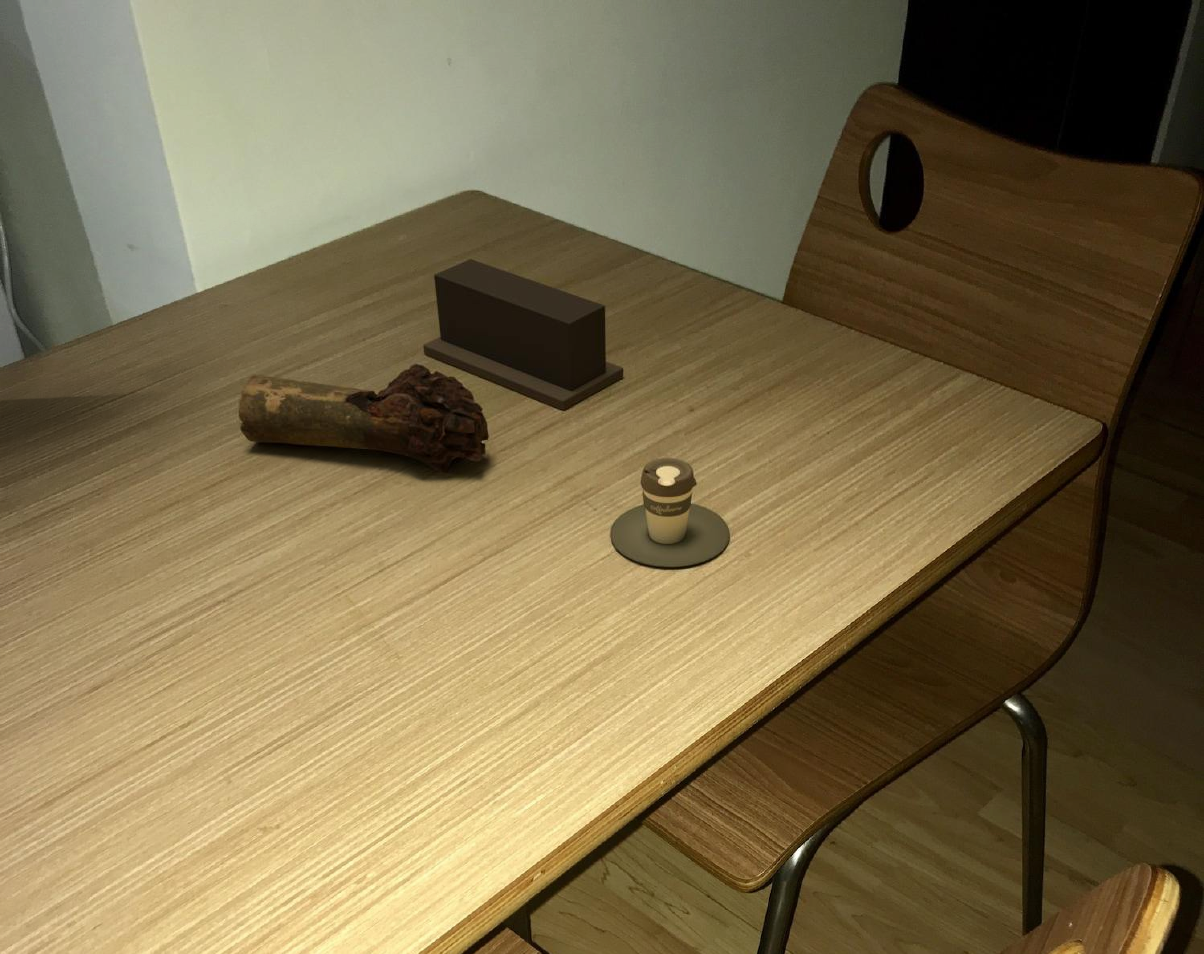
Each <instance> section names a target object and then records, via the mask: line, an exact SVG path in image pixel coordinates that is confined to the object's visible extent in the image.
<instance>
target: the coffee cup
mask: <svg viewBox="0 0 1204 954" xmlns="http://www.w3.org/2000/svg"><path fill="white" fill-rule="evenodd" d="M697 484H698V483H697V479H696V478H695V476H694V469H693V467H692V466H691V465H690V463H688V462H687V461H684V460H682V459H679V458H675V457H663V458H657V459H653V460H651V461H649V462H647V463H646V464H645V465H644V466H643V469H642V472H641V478H640V486H641V488H642V502H643V504H640V505H637V506H634V507H632V508H630V509H628V510H626V511H624V512H623V513H622V514H620V515H619V516H618V517H617V518H615V520H614V522H613V523H612V525H611V527H610V532H609V536H610V541H611V543H612V545H613V547H614V549H615V550H616V551H617V552H618V553H619V554H620V555H621V556H622V557H624V558H626V559H628V560H630V561H632V562H635V563H637V564H641V565H643V566H649V567H656V568H662V569H667V568H668V569H673V568H676V569H677V568H687V567H688V568H689V567H693V566H697V565H701V564H703V563H706V562H708V561H710V560H713V559H714V558H716V557H717V556H719V555H720V554H721V553H722V552H723V551H724V550H725V548H726V547H727V546H728V544H729V541H730V537H731V536H730V533H731V532H730V529H729V526H728V523H727V522H726V520H725V519H724V518H722V516H720V515H719V514H718V513H717V512H715V511H713V510H711V509H710V508H708V507H705V506H702V505H700V504H696V503H692V497H693V488H694V487H696V486H697Z"/></svg>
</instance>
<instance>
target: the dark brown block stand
mask: <svg viewBox="0 0 1204 954" xmlns="http://www.w3.org/2000/svg"><path fill="white" fill-rule="evenodd" d="M433 277H434V287H435V297H436V308H437V316H438V325H439V334H440V335H439V337H437V338H434V339H432V340H431V341H428V342H426V343H424V344H423V345H422V346H423V347H422V348H423V354H424V355H425V356H429V357H431V358H433V359H436V360H439V361H440V362H443V363H445V364H448V365H450V366H453V367H455V368H458V369H460V370H463V371H465V372H468V373H470V374H473V375H475V376H478V377H480V378H483V379H485V380H487V381H490V382H493V383H494V384H497V385H500V386H502V387H504V388H507V389H509V390H512V391H515V392H517V393H519V394H522V395H524V396H527V397H529V398H532V399H534V400H537V401H539V402H541V403H544V404H546V405H549V406H552V407H554V408H556V409H559V410H562V411H565V410H567V409H569V408H571V407H573V406H574V405H576V404H578V403H580V402H581V401H583V400H584V399H587V398H588V397H591V396H593V395H594V394H596V393H597V392H599V391H601V390H603V389H605V388H606V387H608V386H610V385H611V384H613V383H615V382H617V381H619V380H620V379H623V378H624V367H622V366H619V365H617V364H613V363H611V362H609V361H607V353H606V352H607V351H606V350H607V348H606V347H607V345H606V342H607V341H606V340H607V339H606V305H604V304H601V303H598V302H597V301H596V302H595V301H592V300H590V299H587V298H584V297H582V296H578V295H575V294H572V293H570V292H567V291H564V290H561V289H558V288H555V287H553V286H550V285H546V284H544V283H541V282H539V281H535V280H532V279H529V278H526V277H525V276H524V277H523V276H521V275H518V274H515V273H512V272H509V271H506V270H504V269H500V268H497V267H495V266H492V265H490V264H486V263H483V262H481V261H477V260H474V259H473V258H469V259H466V260H464V261H462V262H460V263H458V264H456V265H453V266H450V267H449V268H446V269H443V270H442V271H439V272H437V273H435V274H434V275H433Z"/></svg>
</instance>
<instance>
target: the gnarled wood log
mask: <svg viewBox="0 0 1204 954" xmlns="http://www.w3.org/2000/svg"><path fill="white" fill-rule="evenodd" d="M237 408H238V419H239V420H240V421H241V422H239V429H240V431H241V433H242V435H243V436H244V437H245V438H246V439H247V441H249V442H256V443H277V444H289V445H303V446H304V445H305V446H314V447H315V446H316V447H335V448H346V449H347V448H348V449H362V450H372V451H383V452H387V453H392V454H397V455H401V456H406V457H409V458H412V459H415V460H419V461H421V462H423V463H424V464H426V465H428V466H429V467H431V468H433V469H434V470H436V471H439V472H441V473H447V472H448V470H449V468H450V467H449V466H450V465H451V463H452V460H455V459H456V458H457V457H458V458H466V459H467V460H470V461H477V462H478V461H482V458H483V456H484V455H485V454H486V443H484V442H483V441H488V440H489V439H490V435H489V429H488V427H489V426H488V422H487V419H486V417H485V415H484V412H483V408H482V406H481V405H480V404H479V403H478V402H476V401H475V398H474V394H473V393H472V391H471V390H469V389H468V388H466V387H465V386H464V385H463V383H462V382H460V380H457V378H456V377H455V376H446V374H443V373H442V372H439V371H437V370H435V371H434V372H433V373H431V371H430V369H429V368H427V367H426V366H424V365H423V364H422V365H421V364H418V363H414V364H412V365H410V366H409V368H408V369H403V371H401V372H400V373H399V374H398V375H397V377H395V378H394V379H392V381H390V382H388V385H387V387H386V388H384V389H381V390H379V391H378V393H377V394H376V392H375V390H367V389H361V388H356V387H355V388H354V387H344V386H339V385H333V384H332V385H331V384H325V383H324V384H323V383H318V382H311V381H303V380H301V381H300V380H294V379H288V378H283V377H282V378H281V377H274V376H269V375H268V376H267V375H262V374H258V375H256V374H255V375H254V374H253V375H252V376H249V378H248V379H247V381H246V382H245V385H243V388H242V391H241V393H240V396H239V399H238V406H237Z"/></svg>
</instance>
